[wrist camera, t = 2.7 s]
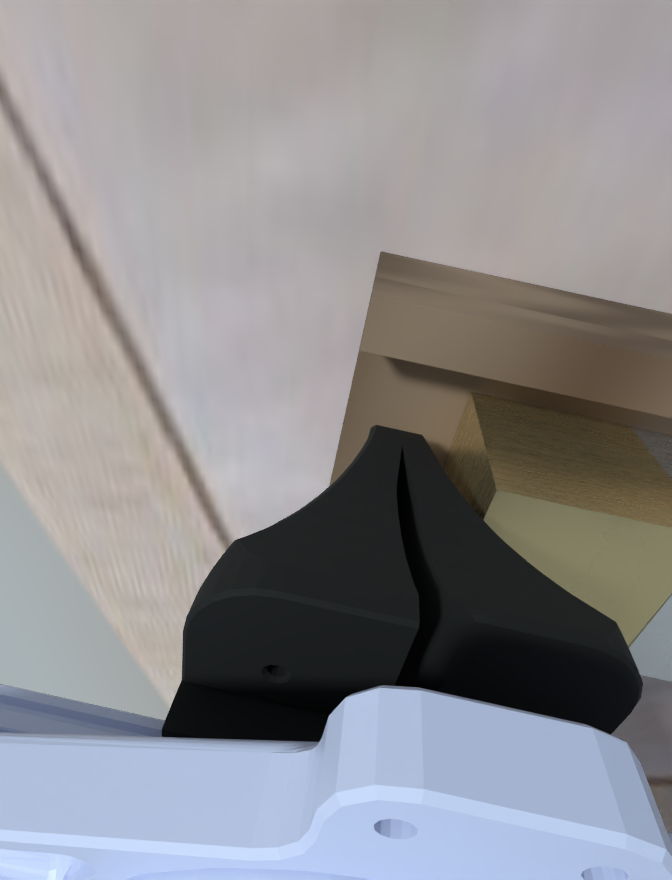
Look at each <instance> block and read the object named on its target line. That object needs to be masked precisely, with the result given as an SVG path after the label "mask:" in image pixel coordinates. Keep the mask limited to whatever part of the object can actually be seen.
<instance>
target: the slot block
mask: <svg viewBox="0 0 672 880" xmlns="http://www.w3.org/2000/svg"><path fill="white" fill-rule="evenodd" d="M471 392H474V393H479V394H483V395H488V396H493V397H497V398H502V399H507V400H511V401H516V402H521V403H525V404H530V405H535V406H539V407H544V408H549V409H553V410H558V411H563V412H567V413H572V414H577V415H581V416H586V417H591V418H595V419H600V420H605V421H609V422H614V423H619V424H623V425H628V426H630V427H635V428H639V429H644V430H649V431H653V432H658V433H663V434H667V435H672V314H668V313H664V312H659V311H655V310H650V309H645V308H641V307H636V306H631V305H627V304H622V303H617V302H613V301H608V300H603V299H599V298H594V297H590V296H585V295H580V294H576V293H571V292H566V291H562V290H557V289H552V288H548V287H543V286H538V285H534V284H529V283H524V282H520V281H515V280H511V279H506V278H501V277H497V276H492V275H487V274H483V273H478V272H473V271H469V270H464V269H459V268H455V267H450V266H446V265H441V264H436V263H432V262H427V261H422V260H418V259H413V258H408V257H404V256H399V255H394V254H390V253H385V252H381V253H380V258H379V262H378V267H377V271H376V276H375V280H374V285H373V290H372V294H371V299H370V303H369V308H368V312H367V317H366V322H365V326H364V331H363V335H362V340H361V344H360V349H359V354H358V358H357V363H356V367H355V372H354V376H353V381H352V386H351V390H350V395H349V399H348V404H347V409H346V413H345V418H344V422H343V427H342V431H341V436H340V441H339V445H338V450H337V454H336V459H335V463H334V468H333V473H332V477H331V482H330V485H331V484H333V483H334V482H335V481H336V480H337V479H338V478H339V476H340V475H341V474H342V473H343V472H344V471H345V470H346V469H347V467H348V466H349V465H350V464H351V463H352V462H353V460H354V459H355V457H356V456H357V455H358V453H359V452H360V450H361V449H362V448H363V446H364V444H365V442H366V441H367V439H368V436H369V432H370V428H371V427H373V426H375V425H380V426H384V427H389V428H393V429H398V430H402V431H407V432H412V433H416V434H421V435H423V437H424V438H425V440H426V442H427V443H428V445H429V447H430V448H431V450H432V452H433V453H434V455H435V456H436V458H437V460H438V461H439V463H440V465H441V466H442V468H443V467H444V465H445V462H446V459H447V456H448V454H449V451H450V448H451V445H452V443H453V440H454V437H455V434H456V432H457V429H458V426H459V424H460V421H461V418H462V415H463V413H464V410H465V407H466V404H467V402H468V399H469V396H470V393H471Z"/></svg>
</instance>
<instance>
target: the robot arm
mask: <svg viewBox="0 0 672 880" xmlns="http://www.w3.org/2000/svg"><path fill="white" fill-rule="evenodd" d="M642 686H643V683H642V680H641V677H640V674H639V671H638V668H637V666H636V663H635V661H634V659H633V657H632V654H631V652H630V650H629V647H628V645H627V643H626V641H625V639H624V637H623V634H622V632H621V630H620V628H619V627H618V625H617V623H616V622H615V621H614V620H612V619H611V618H609V617H607V616H606V615H604V614H603V613H601V612H599V611H598V610H596V609H595V608H593V607H591V606H590V605H588V604H587V603H585V602H583V601H582V600H580V599H578V598H577V597H575V596H574V595H572V594H571V593H569V592H568V591H566V590H565V589H563V588H562V587H561V586H559V585H558V584H556V583H555V582H554V581H552V580H551V579H550V578H548V577H547V576H545V575H544V574H543V573H541V572H540V571H539V570H538V569H536V568H535V567H534V566H532V565H531V564H530V563H529V562H527V561H526V560H525V559H524V558H523V557H522V556H520V555H519V554H518V553H517V552H516V551H515V550H514V549H512V548H511V547H510V546H509V545H508V544H507V543H506V542H505V541H503V540H502V539H501V538H500V537H499V536H498V535H497V534H496V533H495V532H494V531H493V530H492V529H491V528H490V527H489V526H488V525H487V524H486V522H485V521H484V520H483V519H482V518H481V517H480V516H479V515H478V514H477V513H476V512H475V510H474V509H473V508H472V507H471V506H470V504H469V503H468V502H467V501H466V499H465V498H464V497H463V496H462V494H461V493H460V492H459V491H458V489H457V488H456V486H455V485H454V484H453V482H452V481H451V480H450V478H449V477H448V475H447V474H446V472H445V471H444V469H443V468H442V466H441V465H440V463H439V461H438V460H437V458H436V456H435V455H434V453H433V452H432V450H431V448H430V447H429V445H428V443H427V442H426V440H425V438H424V437H423V435H421V434H416V433H412V432H407V431H402V430H398V429H393V428H389V427H384V426H380V425H375V426H373V427H371V428H370V432H369V436H368V439H367V441H366V442H365V444H364V446H363V448H362V449H361V450H360V452H359V453H358V455H357V456H356V457H355V459H354V460H353V462H352V463H351V464H350V465H349V466H348V467H347V469H346V470H345V471H344V472H343V473H342V474H341V475H340V476H339V478H338V479H337V480H336V481H335V482H334V483H333V484H331V485H330V486H329V487H328V488H327V489H326V490H325V491H324V492H322V493H321V494H320V495H319V496H318V497H316V498H315V499H314V500H312V501H311V502H310V503H308V504H307V505H306V506H304V507H303V508H301V509H300V510H298V511H297V512H295V513H294V514H292V515H290V516H288V517H286V518H285V519H283V520H281V521H279V522H277V523H276V524H274V525H272V526H270V527H268V528H266V529H264V530H261V531H258V532H256V533H253V534H251V535H248V536H246V537H243V538H240V539H237V540H235V541H234V542H233V543H232V544H231V545H230V547H229V548H228V549H227V550H226V552H225V553H224V554H223V555H222V557H221V558H220V559H219V561H218V562H217V563H216V565H215V566H214V567H213V569H212V570H211V572H210V573H209V575H208V576H207V578H206V579H205V581H204V583H203V584H202V586H201V588H200V589H199V591H198V593H197V595H196V598H195V600H194V602H193V604H192V606H191V609H190V611H189V613H188V615H187V617H186V622H185V626H184V630H183V660H182V681H181V683H180V686H179V688H178V691H177V693H176V696H175V698H174V700H173V703H172V705H171V708H170V710H169V713H168V715H167V718H166V720H160V719H156V718H152V717H147V716H142V715H138V714H134V713H129V712H125V711H120V710H115V709H111V708H107V707H102V706H98V705H93V704H88V703H84V702H79V701H75V700H70V699H66V698H62V697H57V696H53V695H47V694H44V693H39V692H35V691H30V690H25V689H21V688H16V687H11V686H7V685H3V684H0V880H672V833H670V832H667V831H666V828H665V826H664V823H663V820H662V818H661V815H660V812H659V810H658V807H657V805H656V802H655V799H654V797H653V794H652V791H651V789H650V786H649V784H648V781H647V778H646V776H645V773H644V770H643V768H642V765H641V763H640V761H639V760H638V758H637V757H636V755H635V754H634V752H633V751H632V749H631V748H630V747H629V745H628V744H627V742H625V741H623V740H621V739H619V738H617V737H615V736H613V735H611V734H612V733H613V732H614V730H615V729H616V728H617V727H618V726H619V725H620V724H621V723H622V722H623V721H624V720H625V719H626V717H627V716H628V715H629V714H630V713H631V712H632V710H633V709H634V707H635V706H636V704H637V703H638V701H639V699H640V698H641V692H642Z"/></svg>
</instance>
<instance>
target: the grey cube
mask: <svg viewBox="0 0 672 880" xmlns="http://www.w3.org/2000/svg"><path fill="white" fill-rule="evenodd" d="M631 428H632V429H633V430H634V432H635V433H636V434H637V436H638V437H639V438H640V439H641V441H642V442H643V443H644V444H645V446H646V447H647V448H648V450H649V451H650V452H651V453H652V455H653V456H654V457H655V459H656V460H657V461H658V462H659V464H660V465H661V466H662V468H663V469H664V470H665V471H666V473H667V474H668V475H669V477H670V478H671V479H672V435H667V434H663V433H658V432H653V431H649V430H644V429H639V428H635V427H631ZM628 647H629V650H630V652H631V654H632V657H633V659H634V661H635V663H636V666H637V668H638V671H639V674H640V675H642V676H647V677H652V678H656V679H661V680H666V681H670V682H672V594H671V595H670V596H669V598H668V599H667V600H666V601H665V602H664V604H663V605H662V606H661V607H660V609H659V610H658V611H657V612H656V613H655V615H654V616H653V617H652V618H651V620H650V621H649V622H648V623H647V624H646V626H645V627H644V628H643V629H642V631H641V632H640V633H639V634H638V635H637V637H636V638H635V639H634V640H633V642H632V643H631V644H630V645H629V646H628Z"/></svg>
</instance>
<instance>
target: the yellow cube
mask: <svg viewBox="0 0 672 880" xmlns="http://www.w3.org/2000/svg"><path fill="white" fill-rule="evenodd" d="M443 469H444V471H445V472H446V474H447V475H448V477H449V478H450V480H451V481H452V482H453V484H454V485H455V486H456V488H457V489H458V491H459V492H460V493H461V494H462V496H463V497H464V498H465V499H466V501H467V502H468V503H469V504H470V506H471V507H472V508H473V509H474V510H475V512H476V513H477V514H478V515H479V516H480V517H481V518H482V519H483V520H484V521H485V522H486V524H487V525H488V526H489V527H490V528H491V529H492V530H493V531H494V532H495V533H496V534H497V535H498V536H499V537H500V538H501V539H502V540H503V541H505V542H506V543H507V544H508V545H509V546H510V547H511V548H512V549H514V550H515V551H516V552H517V553H518V554H519V555H520V556H522V557H523V558H524V559H525V560H526V561H527V562H529V563H530V564H531V565H532V566H534V567H535V568H536V569H538V570H539V571H540V572H541V573H543V574H544V575H545V576H547V577H548V578H550V579H551V580H552V581H554V582H555V583H556V584H558V585H559V586H561V587H562V588H563V589H565V590H566V591H568V592H569V593H571V594H572V595H574V596H575V597H577V598H578V599H580V600H582V601H583V602H585V603H587V604H588V605H590V606H591V607H593V608H595V609H596V610H598V611H599V612H601V613H603V614H604V615H606V616H607V617H609V618H611V619H612V620H614V621H615V622H616V623H617V625H618V627H619V628H620V630H621V632H622V634H623V637H624V639H625V641H626V643H627V645H628V646H629V645H630V644H631V643H632V642H633V640H634V639H635V638H636V637H637V635H638V634H639V633H640V632H641V631H642V629H643V628H644V627H645V626H646V624H647V623H648V622H649V621H650V620H651V618H652V617H653V616H654V615H655V613H656V612H657V611H658V610H659V609H660V607H661V606H662V605H663V604H664V602H665V601H666V600H667V599H668V598H669V596H670V595H671V594H672V479H671V478H670V477H669V475H668V474H667V473H666V471H665V470H664V469H663V468H662V466H661V465H660V464H659V462H658V461H657V460H656V459H655V457H654V456H653V455H652V453H651V452H650V451H649V450H648V448H647V447H646V446H645V444H644V443H643V442H642V441H641V439H640V438H639V437H638V436H637V434H636V433H635V432H634V430H633V429H632V428H631V427H630V426H628V425H623V424H619V423H614V422H609V421H605V420H600V419H595V418H591V417H586V416H581V415H577V414H572V413H567V412H563V411H558V410H553V409H549V408H544V407H539V406H535V405H530V404H525V403H521V402H516V401H511V400H507V399H502V398H497V397H493V396H488V395H483V394H479V393H474V392H471V393H470V396H469V399H468V402H467V404H466V407H465V410H464V413H463V415H462V418H461V421H460V424H459V426H458V429H457V432H456V434H455V437H454V440H453V443H452V445H451V448H450V451H449V454H448V456H447V459H446V462H445V465H444V467H443Z"/></svg>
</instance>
